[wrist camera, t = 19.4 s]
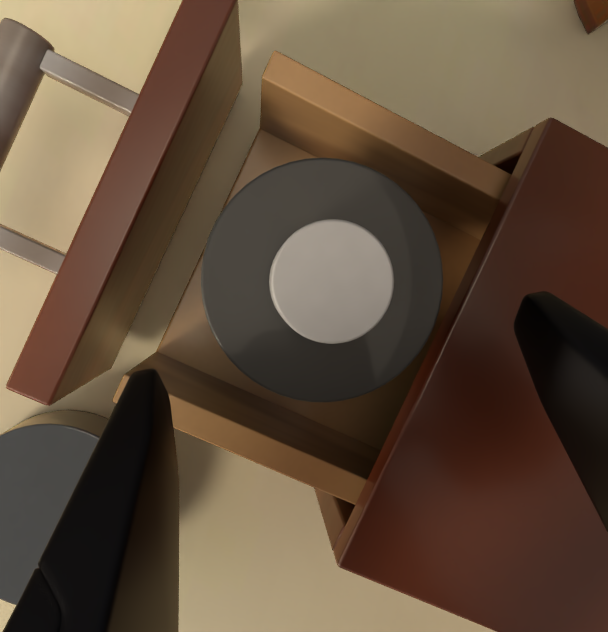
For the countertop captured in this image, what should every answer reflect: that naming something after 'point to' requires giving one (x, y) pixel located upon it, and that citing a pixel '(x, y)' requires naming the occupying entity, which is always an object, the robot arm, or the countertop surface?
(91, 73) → the drawer
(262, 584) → the countertop surface
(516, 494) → the cabinet
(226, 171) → the countertop surface
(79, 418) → the disc
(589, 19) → the food container
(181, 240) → the countertop surface
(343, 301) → the pepper mill
